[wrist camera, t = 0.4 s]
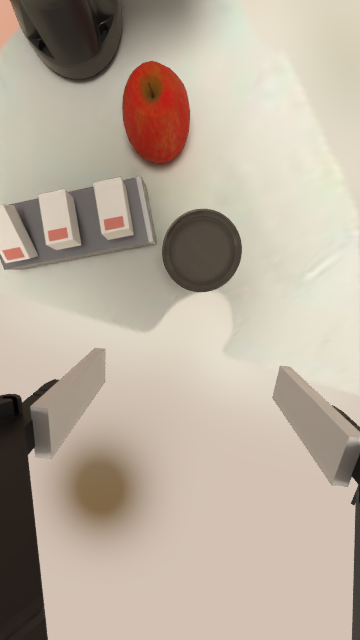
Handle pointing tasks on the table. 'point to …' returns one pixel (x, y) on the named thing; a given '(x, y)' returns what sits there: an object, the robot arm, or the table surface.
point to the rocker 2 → (59, 219)
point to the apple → (156, 112)
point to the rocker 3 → (113, 208)
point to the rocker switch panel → (86, 227)
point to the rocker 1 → (14, 236)
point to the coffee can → (201, 250)
